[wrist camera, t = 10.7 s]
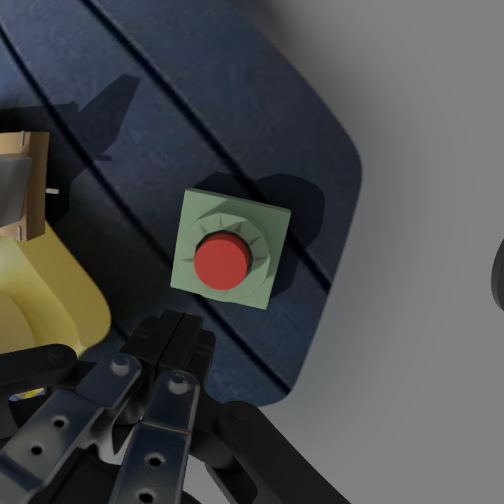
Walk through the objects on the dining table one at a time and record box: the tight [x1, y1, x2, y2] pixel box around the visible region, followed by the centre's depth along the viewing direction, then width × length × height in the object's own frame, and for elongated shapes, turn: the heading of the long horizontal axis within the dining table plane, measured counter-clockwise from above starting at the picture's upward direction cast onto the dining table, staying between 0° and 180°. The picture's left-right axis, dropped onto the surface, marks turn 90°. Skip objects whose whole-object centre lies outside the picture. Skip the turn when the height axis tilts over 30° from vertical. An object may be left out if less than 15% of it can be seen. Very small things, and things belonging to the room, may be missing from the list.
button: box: [194, 233, 249, 290], centre depth 22 cm, size 4×4×2 cm
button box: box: [171, 188, 291, 309], centre depth 25 cm, size 8×8×4 cm
